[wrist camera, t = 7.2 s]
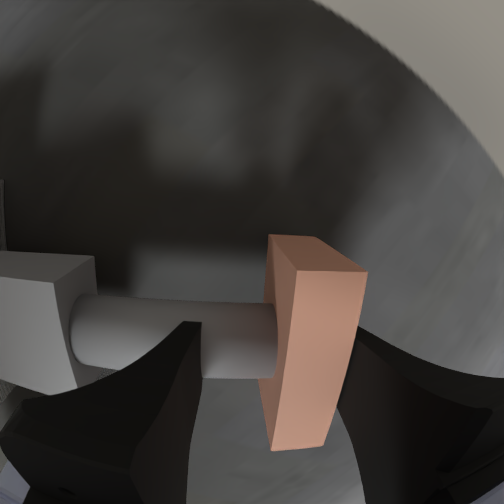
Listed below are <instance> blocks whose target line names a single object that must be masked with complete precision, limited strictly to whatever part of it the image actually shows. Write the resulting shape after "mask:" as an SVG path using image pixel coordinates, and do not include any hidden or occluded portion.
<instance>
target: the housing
mask: <svg viewBox="0 0 504 504" xmlns="http://www.w3.org/2000/svg"><path fill="white" fill-rule="evenodd" d="M0 251H7V245H6V234H5V219H4V179H2V180H0ZM15 386H16V384H13V383H10V382H8V381H5V380H2V379H0V405H1V403H2V402H3V401H4V399H5V398H6V397H7V396H8V394H9V393H10V392H11V391H12V389H13V388H14V387H15Z"/></svg>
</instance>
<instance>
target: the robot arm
mask: <svg viewBox="0 0 504 504" xmlns="http://www.w3.org/2000/svg"><path fill="white" fill-rule="evenodd" d="M201 327H202V322H195V321H183V322H181V323H180V324H179V325H178V326H177V327H176V328H175V329H174V330H173V331H172V332H171V333H170V334H169V335H168V336H166V337H165V338H164V339H163V340H162V341H161V342H160V343H158V344H157V345H156V346H155V347H154V348H152V349H151V350H150V351H148V352H147V353H146V354H144V355H143V356H142V357H140V358H139V359H138V360H136V361H134V362H133V363H131V364H130V365H128V366H126V367H124V368H123V369H121V370H119V371H117V372H115V373H113V374H111V375H109V376H107V377H104V378H102V379H100V380H98V381H96V382H93V383H91V384H88V385H85V386H82V387H79V388H76V389H73V390H70V391H66V392H63V393H58V394H54V395H49V396H43V397H38V398H32V399H24V400H23V401H22V402H21V403H20V405H19V406H18V407H17V409H16V410H15V412H14V413H13V414H12V416H11V417H10V419H9V420H8V421H7V423H6V424H5V426H4V427H3V429H2V430H1V431H0V446H1V449H2V451H3V453H4V454H5V456H6V457H7V459H8V461H7V463H6V464H5V466H4V468H3V470H2V472H1V473H0V504H186V493H187V475H188V462H189V450H190V443H191V438H192V433H193V428H194V424H195V419H196V414H197V410H198V405H199V400H200V396H201V391H202V380H203V377H202V373H201ZM336 406H337V408H338V411H339V413H340V415H341V418H342V420H343V422H344V424H345V427H346V429H347V431H348V434H349V436H350V439H351V442H352V444H353V448H354V452H355V455H356V459H357V463H358V467H359V471H360V475H361V480H362V484H363V490H364V496H365V502H366V504H504V378H493V377H485V376H478V375H472V374H467V373H463V372H459V371H455V370H451V369H447V368H444V367H441V366H438V365H435V364H433V363H430V362H427V361H425V360H422V359H420V358H417V357H415V356H413V355H411V354H409V353H407V352H405V351H403V350H401V349H399V348H397V347H395V346H393V345H391V344H389V343H387V342H386V341H384V340H382V339H380V338H379V337H377V336H375V335H373V334H372V333H370V332H368V331H366V330H364V329H363V328H361V327H359V326H357V331H356V335H355V339H354V344H353V348H352V352H351V356H350V360H349V363H348V367H347V371H346V375H345V378H344V382H343V385H342V389H341V392H340V395H339V399H338V402H337V405H336Z"/></svg>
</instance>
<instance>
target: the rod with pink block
mask: <svg viewBox="0 0 504 504" xmlns="http://www.w3.org/2000/svg"><path fill="white" fill-rule="evenodd" d="M367 275H368V272H367V271H366V270H364V269H363V268H361V267H360V266H358V265H357V264H356V263H354V262H353V261H351V260H350V259H348V258H347V257H345V256H344V255H342V254H341V253H339V252H338V251H336V250H335V249H333V248H332V247H330V246H329V245H327V244H326V243H324V242H323V241H321V240H320V239H318V238H317V237H314V236H295V235H275V234H269V236H268V250H267V263H266V276H265V288H264V301H263V303H229V302H202V301H181V300H163V299H147V298H133V297H120V296H108V295H98V292H97V283H96V272H95V260H94V256H88V255H69V254H51V253H33V252H16V251H0V379H2V380H5V381H8V382H10V383H13V384H16V385H19V386H22V387H25V388H28V389H31V390H34V391H37V392H40V393H44V394H47V395H54V394H58V393H63V392H66V391H70V390H73V389H76V388H79V387H82V386H85V385H88V384H91V383H93V382H95V381H96V379H97V377H98V375H99V373H100V372H101V370H102V368H109V369H116V370H121V369H123V368H124V367H126V366H128V365H130V364H131V363H133V362H134V361H136V360H138V359H139V358H140V357H142V356H143V355H144V354H146V353H147V352H148V351H150V350H151V349H152V348H154V347H155V346H156V345H157V344H158V343H160V342H161V341H162V340H163V339H164V338H165V337H166V336H168V335H169V334H170V333H171V332H172V331H173V330H174V329H175V328H176V327H177V326H178V325H179V324H180V323H181V322H183V321H195V322H202V327H201V373H202V377H203V378H235V379H258V383H259V388H260V394H261V399H262V405H263V411H264V416H265V422H266V427H267V433H268V438H269V444H270V449H271V451H279V450H291V449H301V448H310V447H318V446H323V444H324V441H325V438H326V435H327V433H328V430H329V427H330V424H331V421H332V418H333V415H334V412H335V408H336V405H337V402H338V399H339V395H340V392H341V389H342V385H343V382H344V378H345V375H346V371H347V367H348V363H349V360H350V356H351V352H352V348H353V344H354V339H355V335H356V331H357V326H358V322H359V317H360V312H361V307H362V302H363V297H364V292H365V286H366V281H367Z"/></svg>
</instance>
